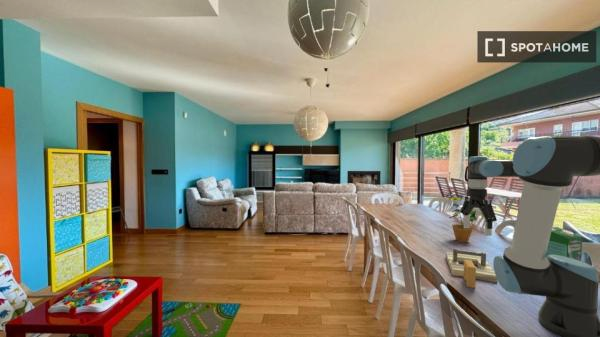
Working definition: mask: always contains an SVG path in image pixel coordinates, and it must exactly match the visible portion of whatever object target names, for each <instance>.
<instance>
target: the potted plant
mask: <svg viewBox="0 0 600 337" xmlns="http://www.w3.org/2000/svg"><path fill="white" fill-rule="evenodd" d="M448 200H449V201H452V202H455V204H457V202H458V201H459V202H460V201H462V198H461V197H458V196H451V197H448ZM455 207H456V209H454V210H453V211H452V213H455V215H452V216H450V217H449V219H453V218H454V217H457V216H458V215H459V216H460V220H461V224H452V225H451V226H452V227H451V228H452V229H453V234H454V237H455V241H456V240H457V242H459V241H460V243H469V241H470V237H471V235H472V233H473V229H474V228H473V227H472V226H471V225H470V228H464V223H463V221H464V217H463V218H462V216H461V213H460V211H461V209H459V208H458V207H457V205H455ZM457 212H458V214H457ZM476 213H477V211H476V210H472V211H471V212H470V214H469V215H470V222H473V221H475V222H476V221H478V218H477V217H476Z"/></svg>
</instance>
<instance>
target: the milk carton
mask: <svg viewBox="0 0 600 337" xmlns="http://www.w3.org/2000/svg"><path fill="white" fill-rule="evenodd" d="M582 249H583V236H580V235H579V234H576V233H574V232H572V231H570V230H567V229H563V228H561V227H559V226H553V227H552V231H551V235H550V239H549V243H548V247H547V251H546V255H545V257H547V256H548V255H559V256H564V257H568V258H572V259H575V260H578V261H581V262H582V257H583V254H582V251H583V250H582Z"/></svg>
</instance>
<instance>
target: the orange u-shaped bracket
mask: <svg viewBox="0 0 600 337" xmlns="http://www.w3.org/2000/svg"><path fill="white" fill-rule="evenodd" d="M463 267H464V277H463V280H465V281H466V283H465V284H466V286H467V288H472V289H473V288H474V289H476V285H477V284H476V283H477V282H476V280H477V279H476V269H477V268H476V265H474V264H473V262H472V261H471V260H464V263H463Z"/></svg>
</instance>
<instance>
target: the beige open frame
mask: <svg viewBox="0 0 600 337" xmlns="http://www.w3.org/2000/svg"><path fill="white" fill-rule="evenodd" d="M445 259H446V261H447V263H448V267H449V271H450V273H451V275H452V276H457V277H463V278H464V266H461V265H460V264H464V260H471V261H472V262H473V264H474V266H477V267H478V268H476V280H479V281H480V280H481V281H488V282H493V283H498V280H497V278H496V275H495V271H494V268H492V266H491V265H490V264H489V262H488V261H487V260H486V266H484V265H481V256H474V255H466V254H459V253H457V262H456V261H453V252H445Z"/></svg>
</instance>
